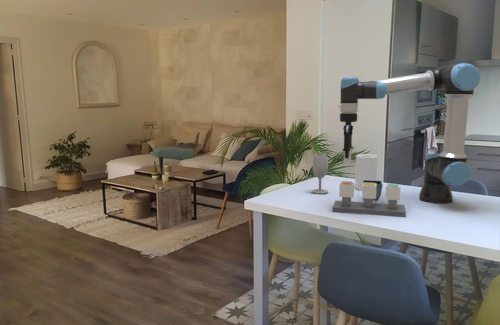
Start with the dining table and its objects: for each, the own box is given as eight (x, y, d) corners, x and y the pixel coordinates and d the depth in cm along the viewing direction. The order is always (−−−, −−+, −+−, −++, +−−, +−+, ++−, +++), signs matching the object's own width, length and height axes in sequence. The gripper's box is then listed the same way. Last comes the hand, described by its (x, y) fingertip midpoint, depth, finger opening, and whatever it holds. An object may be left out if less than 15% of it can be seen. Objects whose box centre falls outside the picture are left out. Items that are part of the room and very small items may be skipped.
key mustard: (376, 195, 195) (376, 182, 194) (375, 198, 189) (376, 185, 188) (362, 194, 197) (363, 181, 196) (361, 198, 191) (362, 184, 190)
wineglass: (330, 191, 230) (331, 153, 227) (324, 195, 223) (325, 155, 219) (315, 189, 235) (316, 152, 231) (309, 193, 228) (309, 154, 224)
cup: (354, 186, 243) (355, 154, 239) (374, 186, 241) (375, 154, 238) (356, 190, 232) (357, 157, 229) (377, 191, 230) (378, 157, 227)
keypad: (404, 208, 196) (405, 194, 194) (405, 217, 183) (406, 201, 182) (335, 204, 205) (335, 190, 203) (332, 211, 192) (332, 196, 191)
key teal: (399, 197, 192) (400, 183, 191) (399, 200, 186) (400, 186, 185) (385, 196, 194) (385, 183, 193) (385, 199, 188) (386, 185, 187)
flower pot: (382, 202, 207) (382, 184, 206) (363, 201, 209) (363, 183, 208) (380, 198, 216) (381, 180, 214) (362, 197, 218) (362, 180, 216)
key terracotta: (353, 194, 198) (354, 181, 197) (352, 197, 192) (353, 184, 191) (340, 193, 200) (340, 180, 199) (339, 196, 194) (339, 183, 193)
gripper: (342, 111, 200) (340, 160, 204) (337, 113, 182) (336, 167, 185) (358, 111, 198) (357, 160, 201) (356, 114, 179) (354, 168, 183)
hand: (347, 163), depth 193 cm, fingers open, 6 cm apart
